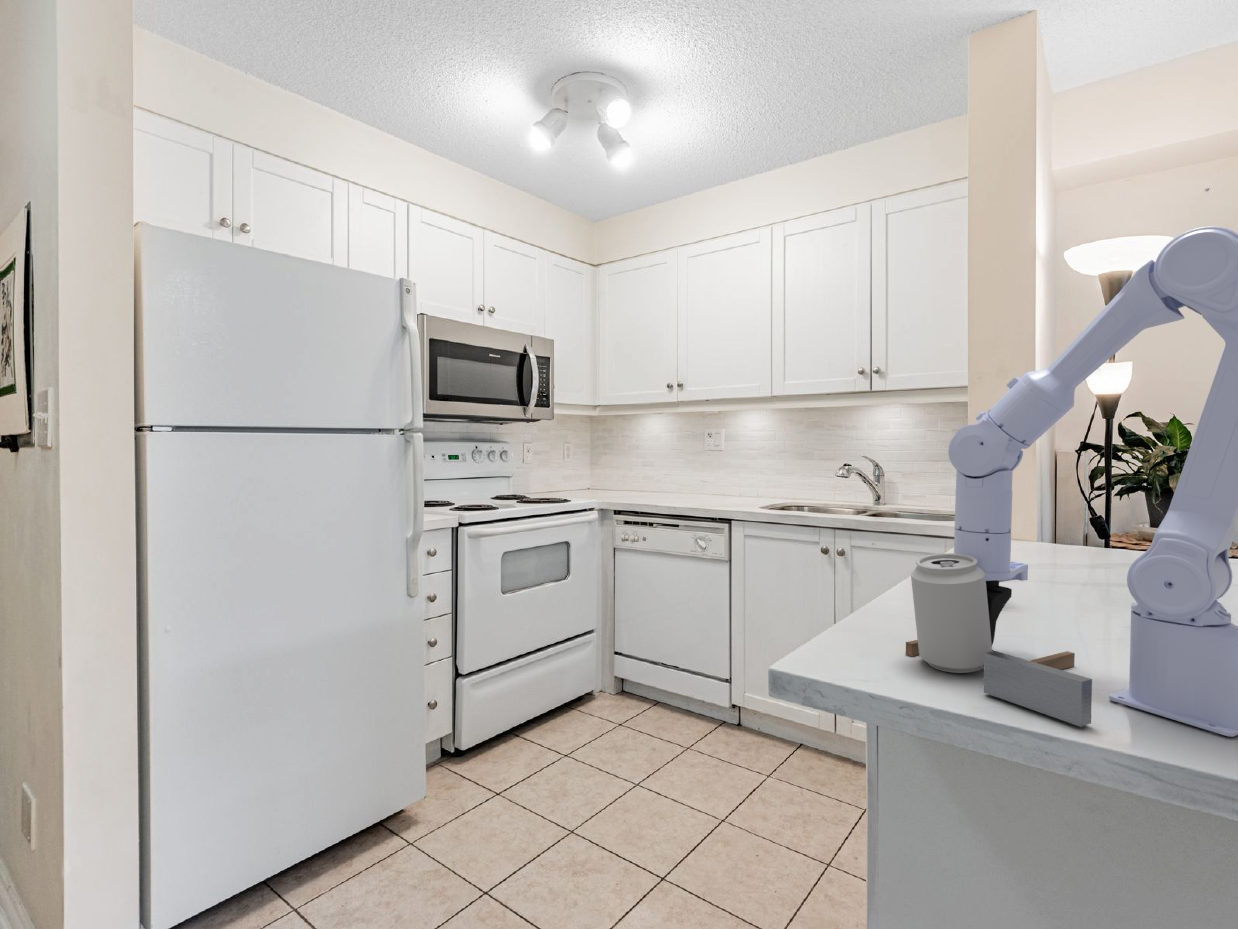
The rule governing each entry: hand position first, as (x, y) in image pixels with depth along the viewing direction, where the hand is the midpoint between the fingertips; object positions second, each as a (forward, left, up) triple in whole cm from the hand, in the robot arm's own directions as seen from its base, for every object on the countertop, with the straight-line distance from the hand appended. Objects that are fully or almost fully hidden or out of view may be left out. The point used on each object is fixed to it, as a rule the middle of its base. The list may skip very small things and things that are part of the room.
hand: (978, 646), depth 76 cm
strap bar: (-11, +9, -2) cm, 14 cm away
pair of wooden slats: (0, -1, -2) cm, 2 cm away
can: (0, +4, -1) cm, 4 cm away
